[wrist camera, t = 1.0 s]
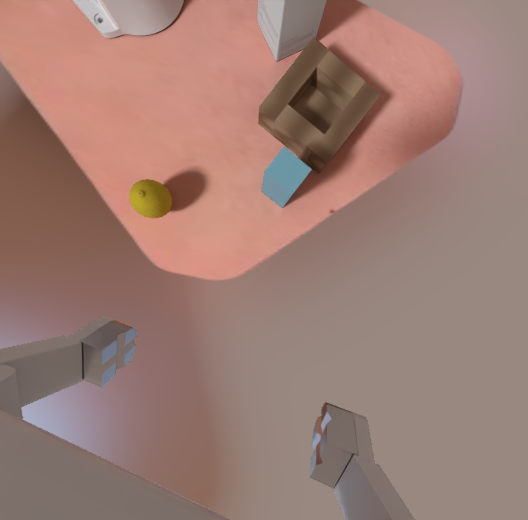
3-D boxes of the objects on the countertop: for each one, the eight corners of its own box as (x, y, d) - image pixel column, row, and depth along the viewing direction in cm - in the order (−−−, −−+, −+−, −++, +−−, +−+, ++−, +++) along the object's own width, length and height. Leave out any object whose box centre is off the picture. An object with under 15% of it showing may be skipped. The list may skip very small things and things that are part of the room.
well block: (258, 123, 42) (259, 107, 37) (306, 61, 42) (313, 36, 37) (318, 173, 43) (327, 163, 38) (366, 112, 43) (380, 94, 38)
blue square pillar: (261, 191, 43) (264, 171, 32) (275, 172, 43) (284, 146, 32) (282, 208, 43) (292, 194, 32) (296, 189, 43) (311, 169, 32)
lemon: (178, 188, 42) (161, 173, 34) (177, 221, 42) (160, 215, 34) (144, 186, 42) (119, 171, 34) (144, 220, 42) (118, 213, 34)
